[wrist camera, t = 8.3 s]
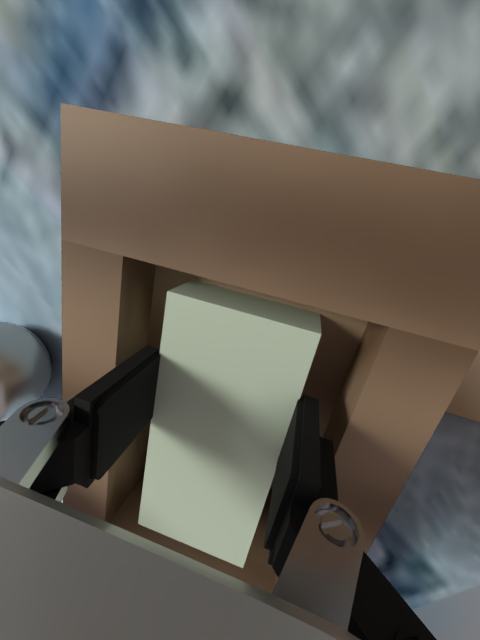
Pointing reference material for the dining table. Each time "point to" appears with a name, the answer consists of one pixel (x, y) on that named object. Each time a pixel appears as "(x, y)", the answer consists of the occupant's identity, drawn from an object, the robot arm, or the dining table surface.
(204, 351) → the slab
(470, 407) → the plate
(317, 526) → the robot arm
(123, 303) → the pocket board
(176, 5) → the dining table surface
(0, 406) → the plastic bottle
